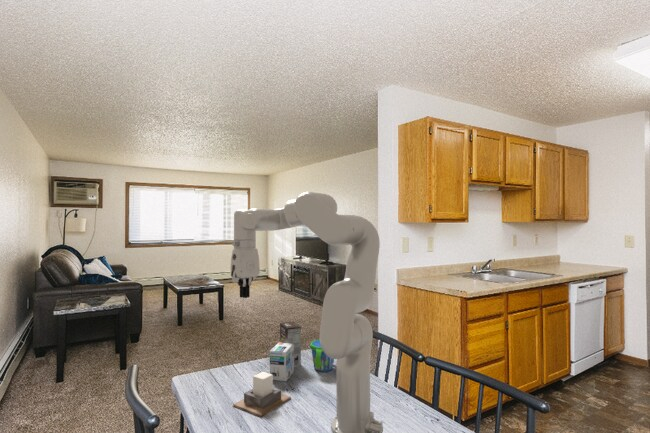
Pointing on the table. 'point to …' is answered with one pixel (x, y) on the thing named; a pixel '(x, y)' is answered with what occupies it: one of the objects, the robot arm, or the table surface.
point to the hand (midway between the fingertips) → (244, 297)
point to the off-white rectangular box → (262, 384)
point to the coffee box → (292, 338)
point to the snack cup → (320, 357)
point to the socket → (261, 402)
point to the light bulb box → (282, 361)
